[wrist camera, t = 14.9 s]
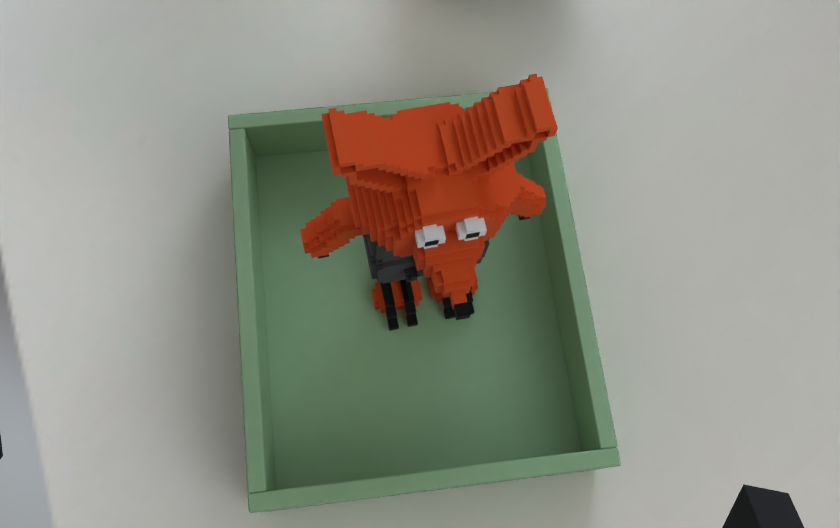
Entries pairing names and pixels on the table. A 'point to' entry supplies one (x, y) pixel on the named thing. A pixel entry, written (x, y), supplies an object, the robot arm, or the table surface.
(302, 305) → the tray
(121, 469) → the table surface
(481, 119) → the toy animal
